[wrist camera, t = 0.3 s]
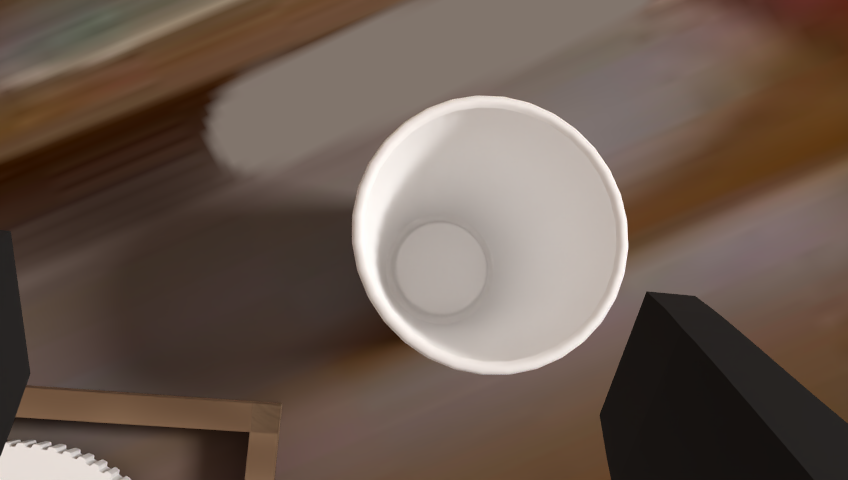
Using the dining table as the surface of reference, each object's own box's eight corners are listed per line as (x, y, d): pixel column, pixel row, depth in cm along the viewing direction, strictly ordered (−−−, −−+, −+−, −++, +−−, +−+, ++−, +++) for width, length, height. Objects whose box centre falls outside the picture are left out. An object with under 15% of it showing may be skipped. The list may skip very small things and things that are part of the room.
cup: (292, 282, 38) (290, 247, 27) (424, 128, 40) (471, 39, 29) (455, 417, 38) (519, 436, 27) (578, 256, 40) (681, 215, 29)
